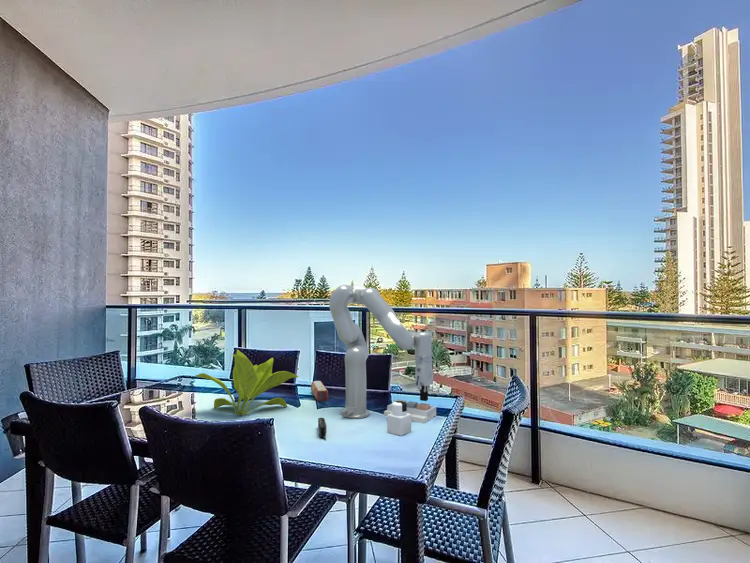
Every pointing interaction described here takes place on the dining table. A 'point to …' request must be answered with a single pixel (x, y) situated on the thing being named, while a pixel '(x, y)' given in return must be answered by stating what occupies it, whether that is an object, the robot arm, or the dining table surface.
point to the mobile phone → (322, 427)
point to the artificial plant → (251, 383)
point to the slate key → (412, 404)
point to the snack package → (319, 391)
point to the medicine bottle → (399, 419)
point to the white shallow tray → (416, 413)
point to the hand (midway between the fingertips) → (424, 400)
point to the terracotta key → (423, 406)
